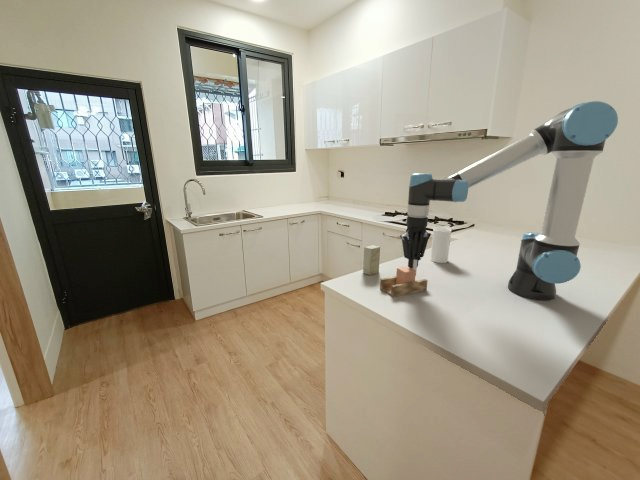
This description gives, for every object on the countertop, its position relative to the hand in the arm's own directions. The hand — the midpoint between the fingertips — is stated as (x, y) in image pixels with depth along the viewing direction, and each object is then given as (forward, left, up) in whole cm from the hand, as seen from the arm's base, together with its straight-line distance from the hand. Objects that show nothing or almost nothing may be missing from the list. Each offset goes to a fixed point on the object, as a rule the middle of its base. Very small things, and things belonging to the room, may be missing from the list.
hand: (412, 274), depth 116 cm
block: (0, +3, -5) cm, 6 cm away
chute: (0, +4, -5) cm, 7 cm away
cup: (+21, -35, -6) cm, 41 cm away
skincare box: (+20, +6, -6) cm, 21 cm away
